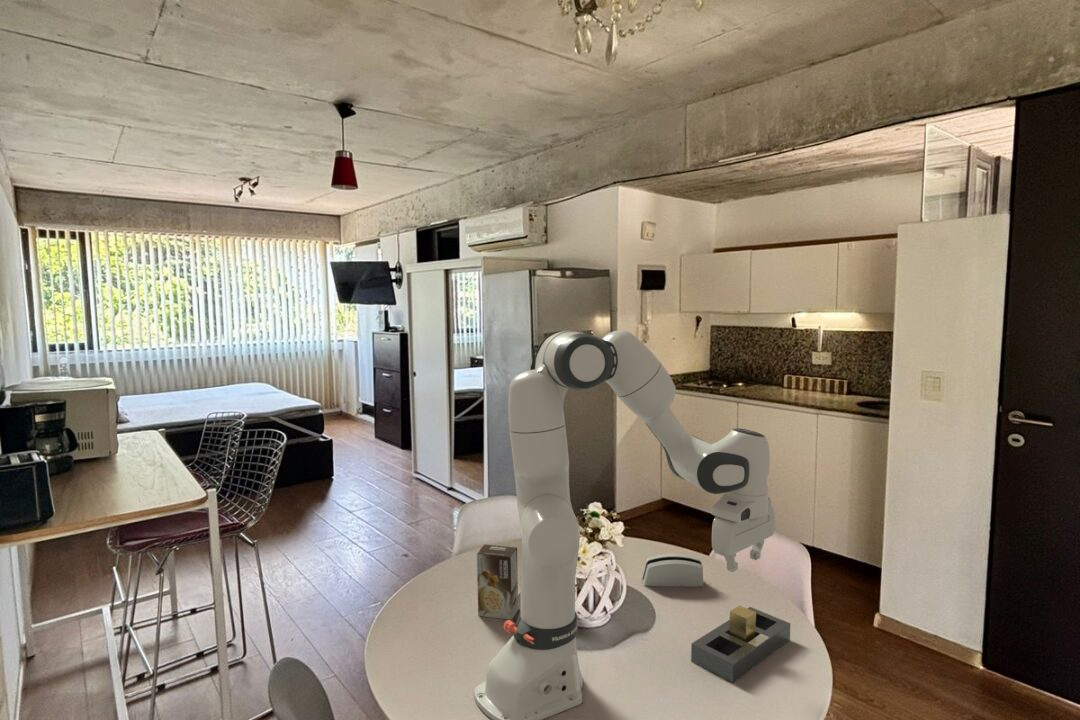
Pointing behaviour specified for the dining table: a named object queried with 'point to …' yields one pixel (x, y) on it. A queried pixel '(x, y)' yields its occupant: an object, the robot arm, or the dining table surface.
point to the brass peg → (742, 624)
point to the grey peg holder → (739, 647)
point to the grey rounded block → (673, 571)
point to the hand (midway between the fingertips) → (743, 564)
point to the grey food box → (497, 581)
